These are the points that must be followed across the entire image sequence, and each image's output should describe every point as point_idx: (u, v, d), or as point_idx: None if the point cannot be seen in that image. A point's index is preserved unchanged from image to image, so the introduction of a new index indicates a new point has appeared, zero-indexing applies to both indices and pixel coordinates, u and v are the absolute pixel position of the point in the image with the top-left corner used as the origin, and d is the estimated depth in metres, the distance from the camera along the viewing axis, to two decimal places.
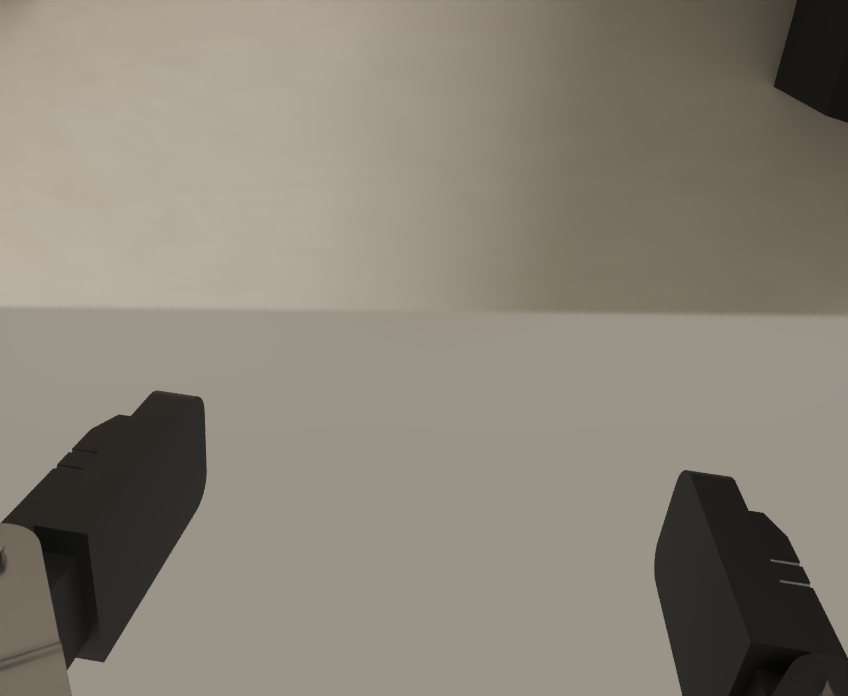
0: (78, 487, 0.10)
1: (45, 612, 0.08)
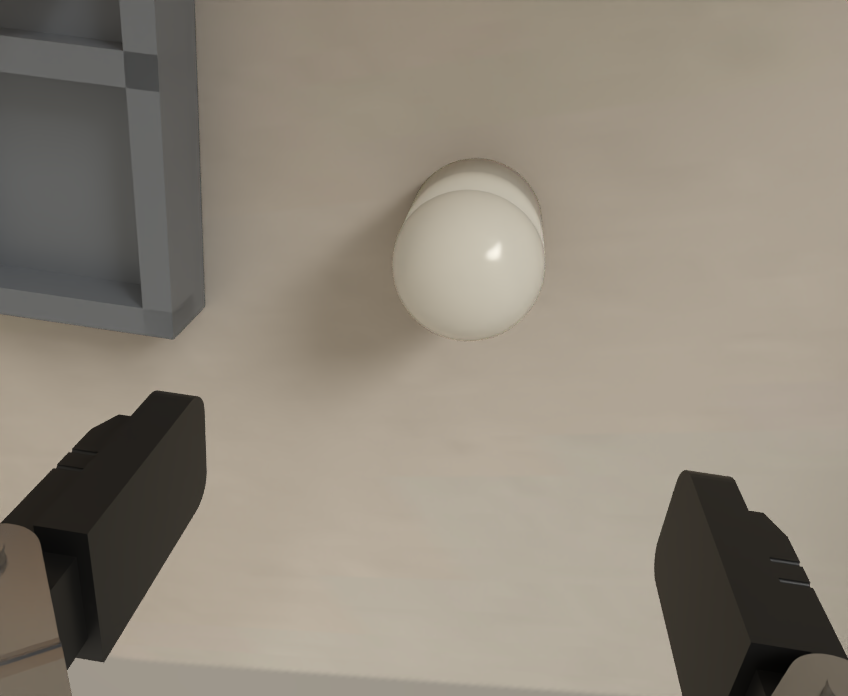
0: (78, 487, 0.10)
1: (45, 612, 0.08)
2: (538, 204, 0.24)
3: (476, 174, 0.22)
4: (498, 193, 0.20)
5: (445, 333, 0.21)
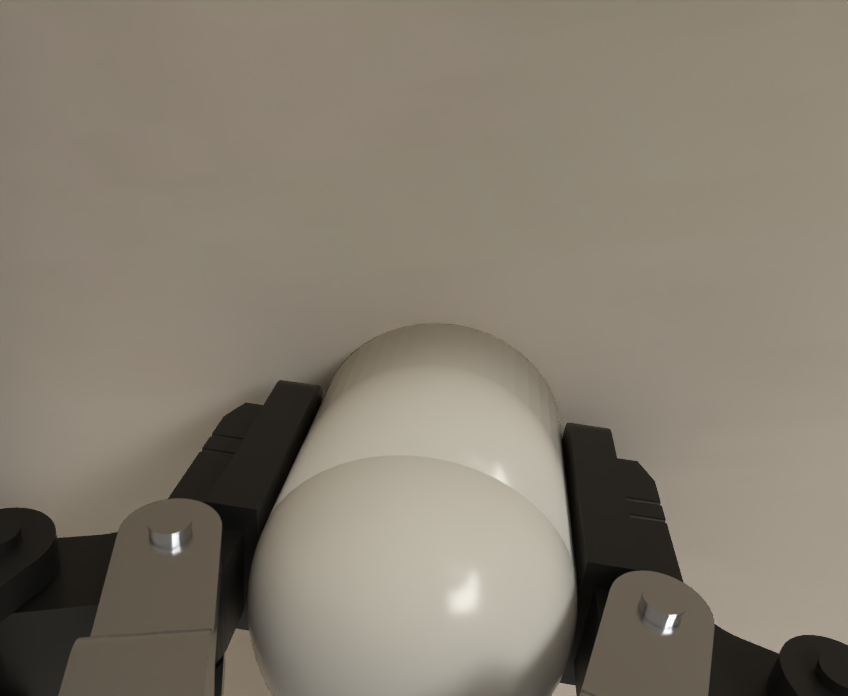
0: (236, 468, 0.10)
1: (209, 595, 0.08)
2: (555, 408, 0.13)
3: (432, 386, 0.11)
4: (475, 459, 0.09)
5: None
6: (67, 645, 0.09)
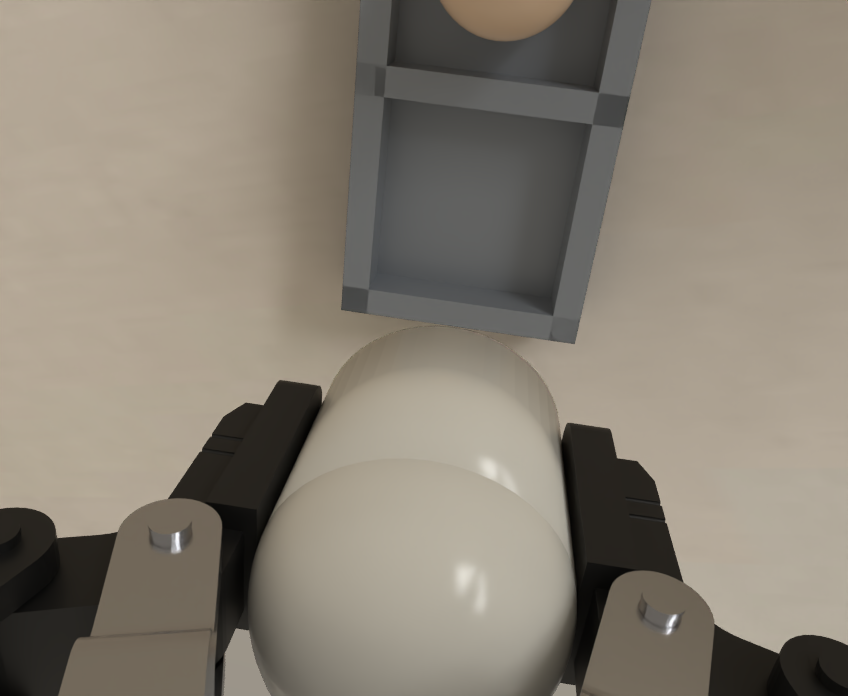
0: (236, 468, 0.10)
1: (209, 594, 0.08)
2: (555, 410, 0.13)
3: (432, 388, 0.11)
4: (474, 461, 0.09)
5: None
6: (67, 645, 0.09)
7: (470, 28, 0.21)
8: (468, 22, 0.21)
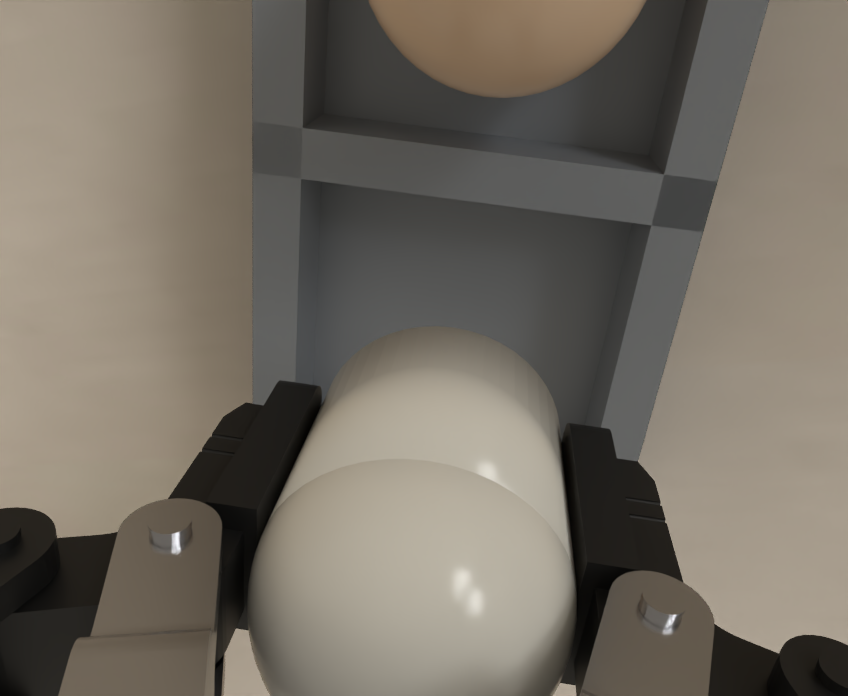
0: (236, 467, 0.10)
1: (209, 595, 0.08)
2: (554, 410, 0.13)
3: (431, 389, 0.11)
4: (474, 462, 0.09)
5: None
6: (67, 645, 0.09)
7: (436, 75, 0.11)
8: (431, 65, 0.11)
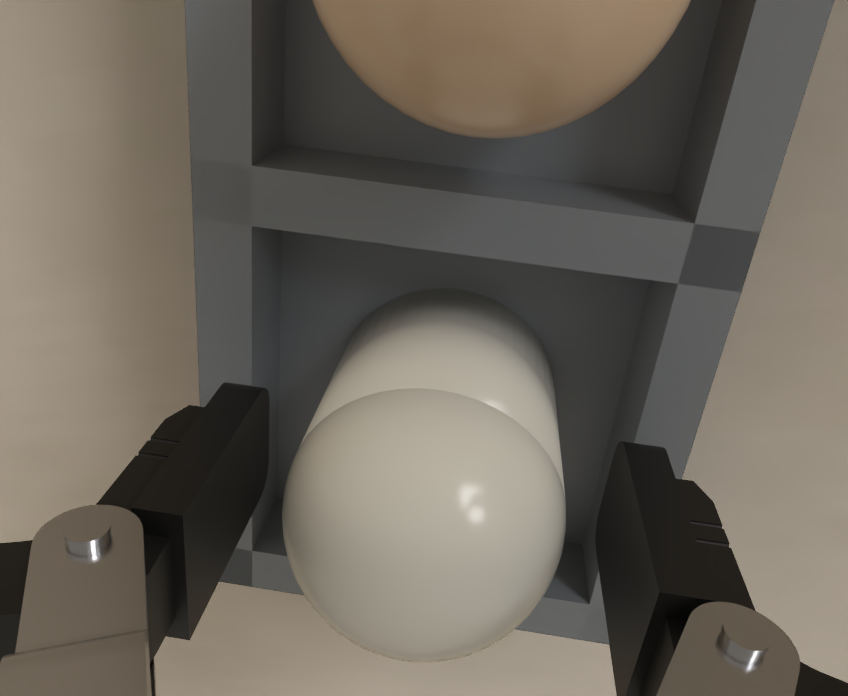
0: (166, 472, 0.10)
1: (138, 597, 0.08)
2: (548, 363, 0.14)
3: (440, 336, 0.12)
4: (477, 392, 0.11)
5: None
6: None
7: (406, 111, 0.08)
8: (399, 99, 0.08)
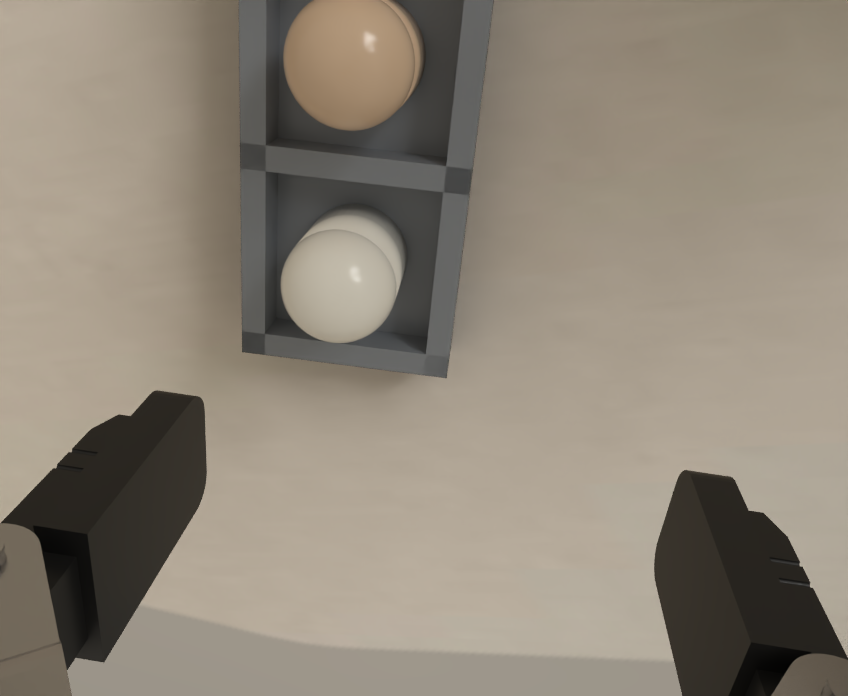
0: (78, 487, 0.10)
1: (45, 612, 0.08)
2: (402, 237, 0.31)
3: (345, 217, 0.29)
4: (356, 231, 0.27)
5: (321, 337, 0.27)
6: None
7: (320, 121, 0.25)
8: (317, 117, 0.25)
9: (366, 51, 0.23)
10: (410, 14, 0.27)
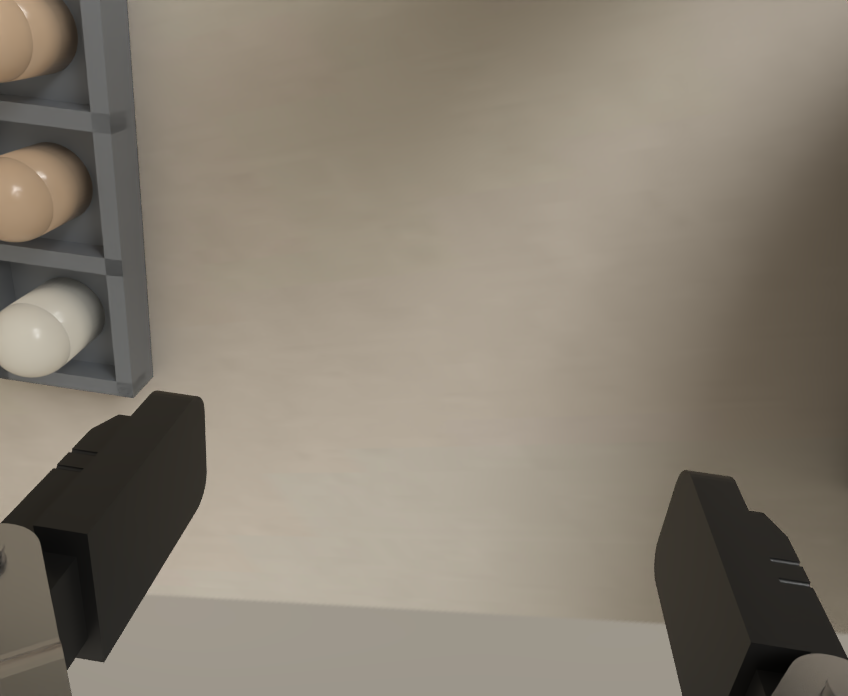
0: (78, 487, 0.10)
1: (45, 612, 0.08)
2: (96, 300, 0.45)
3: (41, 290, 0.43)
4: (38, 304, 0.41)
5: (15, 374, 0.41)
6: None
7: None
8: None
9: (3, 201, 0.36)
10: (74, 158, 0.41)
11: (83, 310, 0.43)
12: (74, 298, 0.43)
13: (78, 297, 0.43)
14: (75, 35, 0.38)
